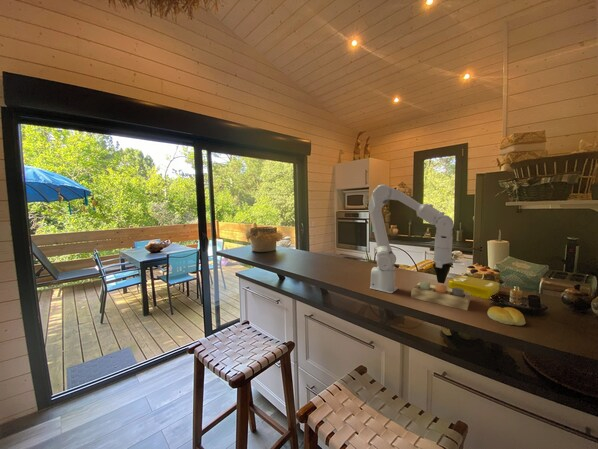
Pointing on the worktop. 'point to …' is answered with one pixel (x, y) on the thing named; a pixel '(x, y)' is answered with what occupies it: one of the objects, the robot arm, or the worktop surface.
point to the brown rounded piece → (440, 289)
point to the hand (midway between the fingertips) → (441, 282)
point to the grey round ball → (458, 292)
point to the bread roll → (506, 315)
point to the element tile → (475, 286)
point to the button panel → (441, 297)
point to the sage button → (425, 286)
